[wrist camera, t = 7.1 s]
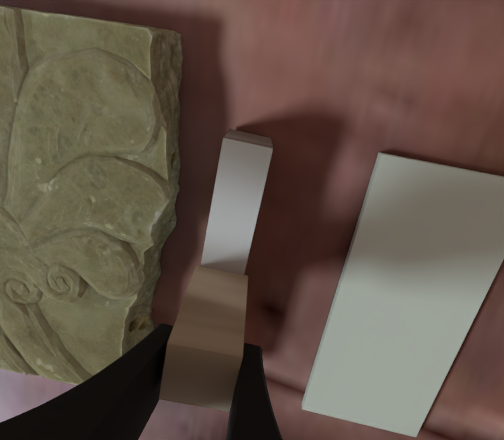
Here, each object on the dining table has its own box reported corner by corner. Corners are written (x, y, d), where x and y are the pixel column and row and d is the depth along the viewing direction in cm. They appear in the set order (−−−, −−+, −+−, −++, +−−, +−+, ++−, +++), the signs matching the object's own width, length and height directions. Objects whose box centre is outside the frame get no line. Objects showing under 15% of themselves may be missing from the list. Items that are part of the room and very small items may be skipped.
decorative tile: (-75, 317, 24) (-135, 351, 21) (-159, -13, 17) (-270, -40, 14) (178, 368, 23) (158, 414, 19) (199, 30, 16) (172, 11, 12)
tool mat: (413, 429, 21) (415, 437, 21) (301, 402, 21) (301, 409, 21) (532, 182, 15) (540, 184, 15) (378, 152, 16) (381, 153, 15)
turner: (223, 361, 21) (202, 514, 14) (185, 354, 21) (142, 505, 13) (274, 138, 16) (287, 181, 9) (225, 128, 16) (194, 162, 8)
